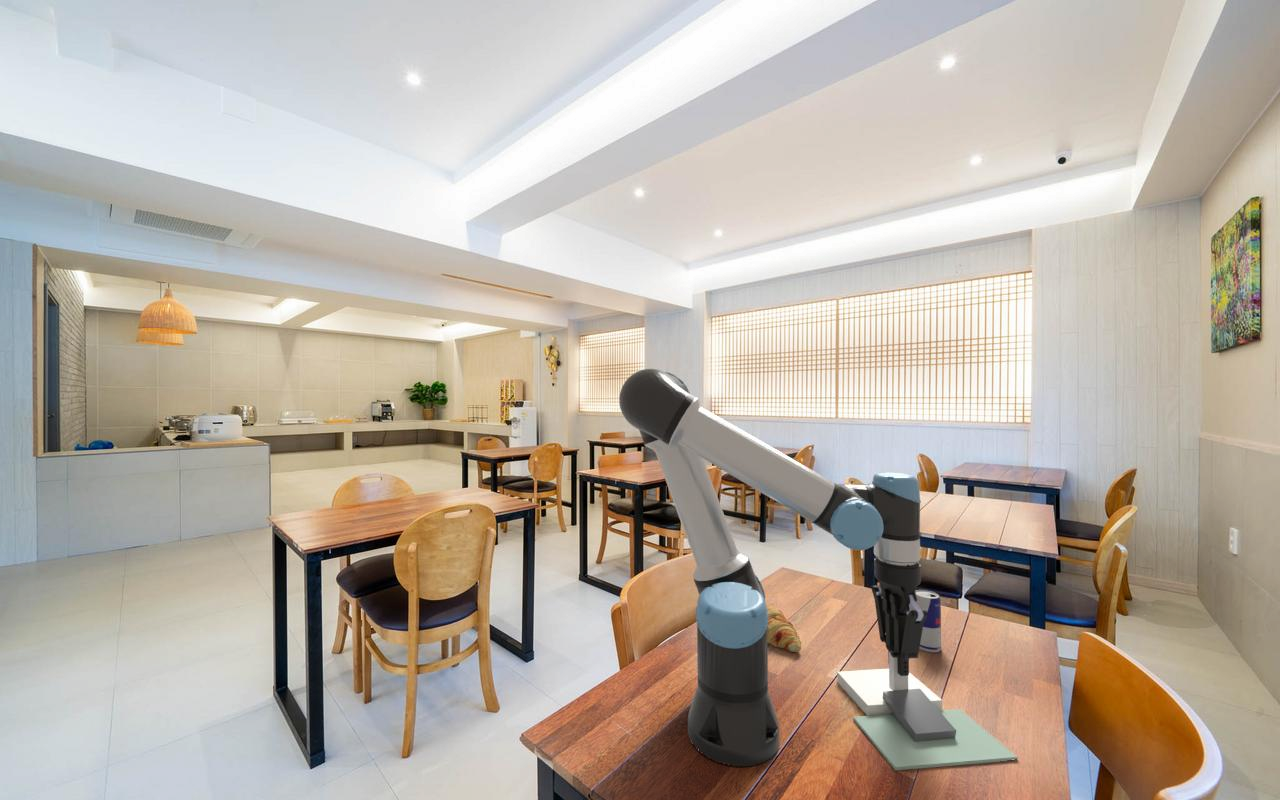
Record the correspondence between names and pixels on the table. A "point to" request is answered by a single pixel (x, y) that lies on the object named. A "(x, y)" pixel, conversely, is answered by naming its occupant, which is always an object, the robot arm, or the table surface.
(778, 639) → the croissant
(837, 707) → the table surface
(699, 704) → the robot arm
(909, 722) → the slate tile
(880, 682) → the board
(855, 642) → the table surface
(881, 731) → the mat
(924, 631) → the energy drink
